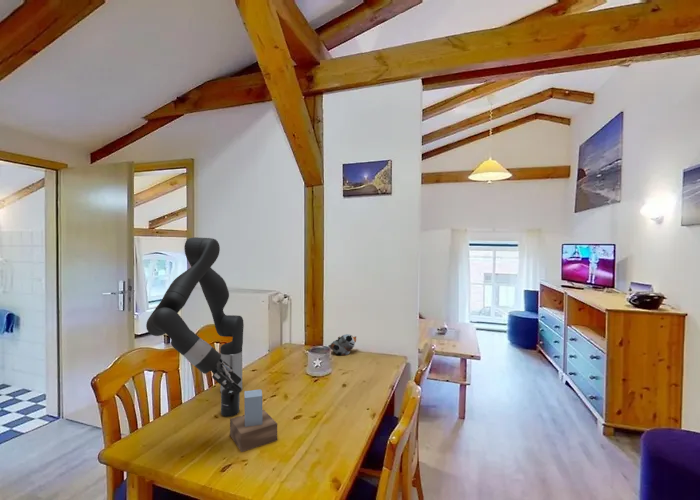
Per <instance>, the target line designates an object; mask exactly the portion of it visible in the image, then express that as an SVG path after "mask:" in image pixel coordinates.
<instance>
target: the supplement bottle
mask: <svg viewBox="0 0 700 500" xmlns="http://www.w3.org/2000/svg"><path fill="white" fill-rule="evenodd" d="M226 383H227V381H226ZM240 393H241V392H240ZM240 393H239V394H236V393H234V392H233V391H232V390H231V389H229V388H227V389H225V388H224V389H223V390H222V392H220V414H221V415H222V416H223V417H233V416H236V415H238V414H239V413H240V406H241V404H240V400H241V399H240V396H241V394H240Z"/></svg>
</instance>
